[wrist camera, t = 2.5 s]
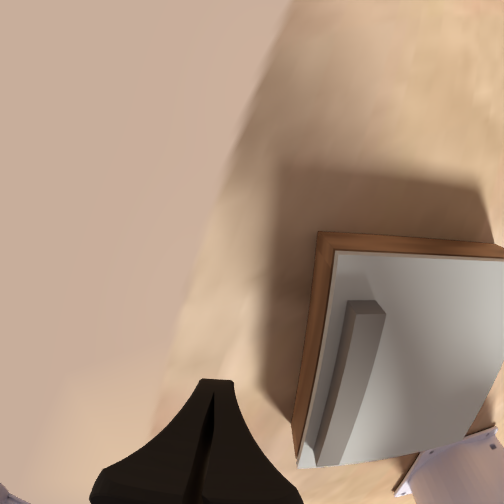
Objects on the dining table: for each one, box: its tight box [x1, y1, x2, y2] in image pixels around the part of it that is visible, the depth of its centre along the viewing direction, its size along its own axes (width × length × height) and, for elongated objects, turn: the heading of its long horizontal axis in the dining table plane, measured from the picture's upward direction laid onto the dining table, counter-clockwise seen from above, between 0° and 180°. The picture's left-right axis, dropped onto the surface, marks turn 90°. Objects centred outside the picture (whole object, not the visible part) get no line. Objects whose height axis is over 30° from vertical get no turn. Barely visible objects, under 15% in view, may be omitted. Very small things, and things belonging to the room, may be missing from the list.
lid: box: [296, 251, 504, 469], centre depth 13 cm, size 12×13×2 cm
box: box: [291, 231, 504, 459], centre depth 15 cm, size 12×13×3 cm
